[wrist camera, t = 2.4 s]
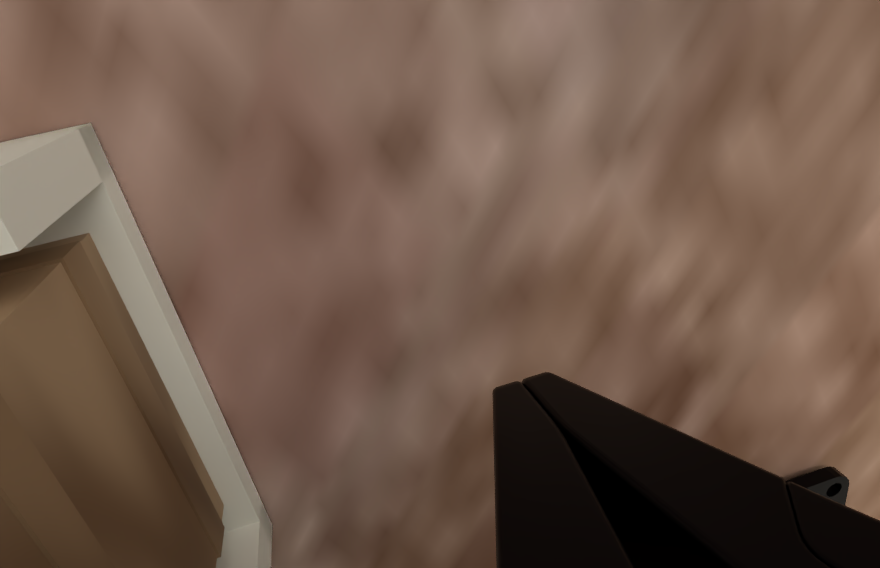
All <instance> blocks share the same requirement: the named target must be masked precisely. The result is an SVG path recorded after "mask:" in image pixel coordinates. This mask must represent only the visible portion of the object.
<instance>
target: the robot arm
mask: <svg viewBox="0 0 880 568" xmlns="http://www.w3.org/2000/svg"><path fill="white" fill-rule="evenodd" d="M493 431H494V475H495V519H496V563H497V568H880V521H879V520H877V519H875V518H872V517H870V516H868V515H865V514H863V513H861V512H858V511H856V510H854V509H852V508H849V507H847V506H845V502H846V497H847V492H848V487H849V480H848V479H847V477H845V476H844V475H843V474H842V473H840V472H839V471H838V470H837V469H836V468H834V467H825V468H822V469H819V470H817V471H814V472H811V473H808V474H805V475H803V476H800V477H797V478H794V479H791V480H789V481H786V482H785V480H784V479H783V478H781V477H779V476H777V475H775V474H773V473H770V472H768V471H766V470H764V469H762V468H759V467H757V466H755V465H753V464H751V463H748V462H746V461H744V460H742V459H740V458H737V457H735V456H733V455H731V454H729V453H726V452H724V451H722V450H720V449H718V448H715V447H713V446H711V445H709V444H707V443H704V442H702V441H700V440H698V439H696V438H693V437H691V436H689V435H687V434H685V433H682V432H680V431H678V430H676V429H674V428H671V427H669V426H667V425H665V424H663V423H660V422H658V421H656V420H654V419H652V418H649V417H647V416H645V415H643V414H641V413H638V412H636V411H634V410H632V409H630V408H627V407H625V406H623V405H621V404H619V403H616V402H614V401H612V400H610V399H607V398H605V397H603V396H601V395H599V394H596V393H594V392H592V391H590V390H588V389H585V388H583V387H581V386H579V385H577V384H574V383H572V382H570V381H568V380H566V379H563V378H561V377H559V376H557V375H555V374H552V373H549V372H545V373H541V374H538V375H535V376H532V377H528V378H525V379H524V380H523V381H522V383H521V382H518V381H516V382H512V383H509V384H506V385H502V386H499V387H496V388H495V389H494V390H493Z"/></svg>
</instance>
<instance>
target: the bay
mask: <svg viewBox="0 0 880 568" xmlns="http://www.w3.org/2000/svg"><path fill="white" fill-rule="evenodd" d="M86 233H90V235H91V237H92V239H93V241H94V243H95V245H96V247H97V250H98V252H99V254H100V256H101V258H102V260H103V262H104V264H105V266H106V268H107V270H108V272H109V274H110V276H111V278H112V280H113V282H114V284H115V286H116V288H117V290H118V292H119V294H120V296H121V298H122V300H123V302H124V304H125V306H126V308H127V310H128V312H129V314H130V316H131V318H132V320H133V322H134V324H135V326H136V328H137V330H138V332H139V334H140V336H141V338H142V340H143V342H144V344H145V346H146V348H147V350H148V353H149V355H150V357H151V359H152V361H153V363H154V365H155V367H156V369H157V371H158V373H159V375H160V377H161V379H162V381H163V383H164V385H165V387H166V389H167V391H168V393H169V395H170V397H171V399H172V401H173V403H174V405H175V407H176V409H177V411H178V413H179V415H180V417H181V419H182V421H183V423H184V425H185V427H186V429H187V431H188V433H189V435H190V437H191V439H192V441H193V443H194V445H195V447H196V449H197V451H198V453H199V456H200V458H201V460H202V462H203V464H204V466H205V468H206V470H207V472H208V474H209V476H210V478H211V480H212V482H213V484H214V486H215V488H216V490H217V492H218V494H219V496H220V498H221V500H222V502H223V504H224V509H223V516H222V523H223V525H224V527H225V529H224V537H223V544H222V552H221V557H219V558H217V561H216V568H271V555H272V523H271V521H270V519H269V516H268V514H267V512H266V510H265V508H264V505H263V503H262V501H261V499H260V497H259V494H258V492H257V490H256V488H255V485H254V483H253V481H252V479H251V477H250V474H249V472H248V470H247V468H246V466H245V463H244V461H243V459H242V457H241V454H240V452H239V450H238V448H237V446H236V443H235V441H234V439H233V437H232V435H231V432H230V430H229V428H228V426H227V423H226V421H225V419H224V417H223V415H222V412H221V410H220V408H219V406H218V404H217V401H216V399H215V397H214V395H213V392H212V390H211V388H210V386H209V384H208V381H207V379H206V377H205V375H204V373H203V370H202V368H201V366H200V364H199V361H198V359H197V357H196V355H195V353H194V350H193V348H192V346H191V344H190V342H189V339H188V337H187V335H186V333H185V330H184V328H183V326H182V324H181V322H180V319H179V317H178V315H177V313H176V310H175V308H174V306H173V304H172V302H171V299H170V297H169V295H168V293H167V291H166V288H165V286H164V284H163V282H162V279H161V277H160V275H159V273H158V271H157V268H156V266H155V264H154V262H153V260H152V257H151V255H150V253H149V251H148V248H147V246H146V244H145V242H144V240H143V237H142V235H141V233H140V231H139V229H138V226H137V224H136V222H135V220H134V217H133V215H132V213H131V211H130V209H129V206H128V204H127V202H126V200H125V198H124V195H123V193H122V191H121V189H120V186H119V184H118V182H117V180H116V178H115V175H114V173H113V171H112V169H111V167H110V164H109V162H108V160H107V158H106V155H105V153H104V151H103V149H102V147H101V144H100V142H99V140H98V138H97V136H96V133H95V131H94V129H93V127H92V124H91V123H87V124H82V125H78V126H73V127H69V128H64V129H60V130H55V131H50V132H46V133H41V134H37V135H32V136H27V137H23V138H18V139H14V140H9V141H4V142H0V256H1V255H5V254H10V253H14V252H18V251H20V250H21V249H24V248H28V247H32V246H37V245H41V244H45V243H49V242H53V241H57V240H61V239H65V238H69V237H74V236H78V235H82V234H86Z"/></svg>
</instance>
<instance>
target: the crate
mask: <svg viewBox="0 0 880 568" xmlns="http://www.w3.org/2000/svg"><path fill="white" fill-rule="evenodd" d="M223 509H224V504H223V502H222V500H221V498H220V496H219V494H218V492H217V490H216V488H215V486H214V484H213V482H212V480H211V478H210V476H209V474H208V472H207V470H206V468H205V466H204V464H203V462H202V460H201V458H200V456H199V453H198V451H197V449H196V447H195V445H194V443H193V441H192V439H191V437H190V435H189V433H188V431H187V429H186V427H185V425H184V423H183V421H182V419H181V417H180V415H179V413H178V411H177V409H176V407H175V405H174V403H173V401H172V399H171V397H170V395H169V393H168V391H167V389H166V387H165V385H164V383H163V381H162V379H161V377H160V375H159V373H158V371H157V369H156V367H155V365H154V363H153V361H152V359H151V357H150V355H149V353H148V350H147V348H146V346H145V344H144V342H143V340H142V338H141V336H140V334H139V332H138V330H137V328H136V326H135V324H134V322H133V320H132V318H131V316H130V314H129V312H128V310H127V308H126V306H125V304H124V302H123V300H122V298H121V296H120V294H119V292H118V290H117V288H116V286H115V284H114V282H113V280H112V278H111V276H110V274H109V272H108V270H107V268H106V266H105V264H104V262H103V260H102V258H101V256H100V254H99V252H98V250H97V247H96V245H95V243H94V241H93V239H92V237H91V235H90V233H86V234H82V235H78V236H74V237H69V238H65V239H61V240H57V241H53V242H49V243H45V244H41V245H37V246H32V247H28V248H24V249H21V250H20V251H18V252H14V253H10V254H5V255H1V256H0V568H216V561H217V558H219V557H221V552H222V544H223V537H224V529H225V527H224V525H223V523H222V516H223Z"/></svg>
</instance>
